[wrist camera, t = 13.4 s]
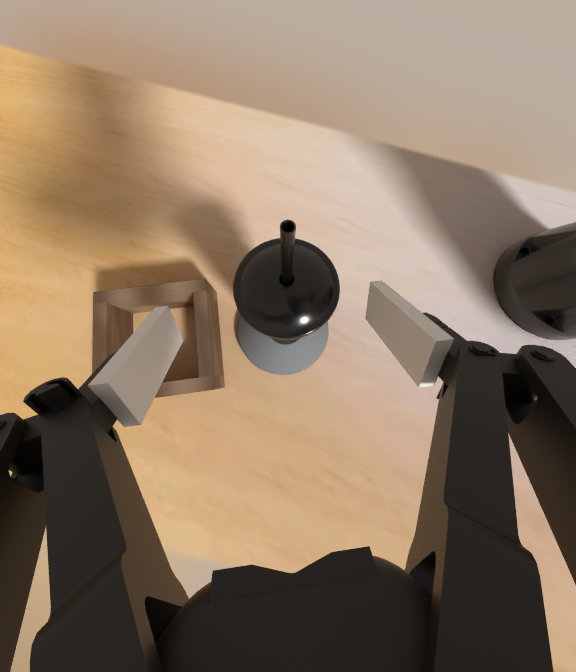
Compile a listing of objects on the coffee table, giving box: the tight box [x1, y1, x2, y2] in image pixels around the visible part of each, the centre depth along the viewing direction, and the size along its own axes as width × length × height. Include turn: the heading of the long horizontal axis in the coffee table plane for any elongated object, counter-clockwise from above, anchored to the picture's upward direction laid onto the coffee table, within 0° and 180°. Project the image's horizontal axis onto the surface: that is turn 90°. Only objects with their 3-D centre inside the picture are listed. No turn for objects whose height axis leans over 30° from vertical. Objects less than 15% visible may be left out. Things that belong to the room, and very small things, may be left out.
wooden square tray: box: [92, 279, 225, 398], centre depth 27 cm, size 13×13×4 cm
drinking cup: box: [233, 220, 340, 345], centre depth 19 cm, size 8×8×20 cm
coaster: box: [238, 315, 328, 375], centre depth 29 cm, size 12×12×1 cm
